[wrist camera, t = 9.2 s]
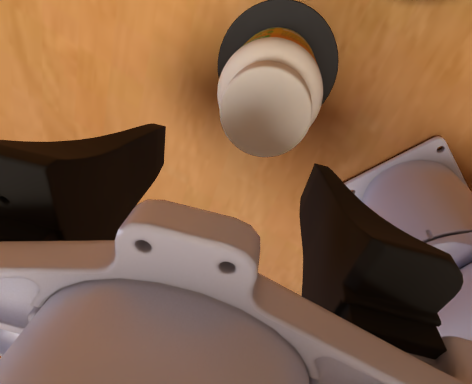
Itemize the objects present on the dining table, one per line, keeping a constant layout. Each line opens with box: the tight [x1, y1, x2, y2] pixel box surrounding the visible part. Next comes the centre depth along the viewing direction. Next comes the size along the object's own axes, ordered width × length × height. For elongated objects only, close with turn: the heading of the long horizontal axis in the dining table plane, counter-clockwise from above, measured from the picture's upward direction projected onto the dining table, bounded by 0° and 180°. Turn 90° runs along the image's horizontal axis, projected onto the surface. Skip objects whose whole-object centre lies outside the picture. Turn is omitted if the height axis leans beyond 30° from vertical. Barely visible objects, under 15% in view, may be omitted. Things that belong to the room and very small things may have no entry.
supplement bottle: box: [217, 27, 323, 157], centre depth 16 cm, size 5×5×10 cm
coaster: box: [218, 0, 338, 105], centre depth 20 cm, size 8×8×1 cm
